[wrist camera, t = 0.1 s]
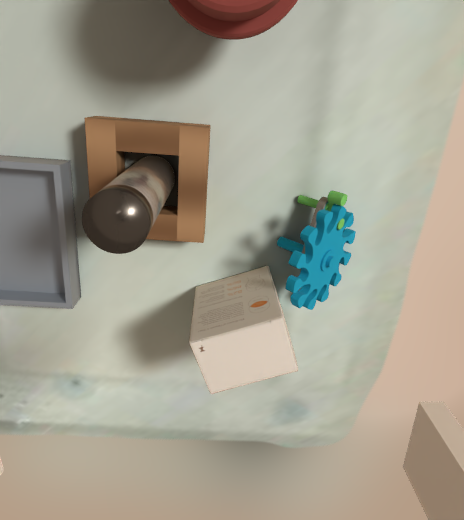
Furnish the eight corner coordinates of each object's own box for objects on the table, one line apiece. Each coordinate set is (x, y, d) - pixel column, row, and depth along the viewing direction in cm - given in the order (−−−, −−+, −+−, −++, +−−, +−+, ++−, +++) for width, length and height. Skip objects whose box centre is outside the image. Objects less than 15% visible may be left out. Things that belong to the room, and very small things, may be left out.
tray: (-55, 151, 35) (-75, 155, 33) (70, 160, 36) (59, 165, 34) (-28, 290, 41) (-43, 302, 39) (81, 296, 41) (72, 308, 39)
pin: (131, 153, 36) (79, 187, 23) (175, 157, 36) (149, 192, 23) (132, 197, 37) (84, 251, 25) (174, 200, 38) (149, 255, 25)
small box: (211, 328, 43) (208, 396, 34) (194, 284, 41) (186, 343, 31) (282, 309, 43) (300, 373, 33) (269, 263, 40) (284, 317, 31)
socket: (95, 115, 35) (84, 117, 32) (210, 125, 35) (209, 127, 32) (101, 225, 38) (92, 235, 36) (204, 232, 39) (203, 242, 36)
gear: (339, 306, 41) (286, 320, 33) (292, 284, 44) (234, 291, 37) (376, 202, 38) (328, 190, 30) (322, 187, 42) (268, 173, 34)
